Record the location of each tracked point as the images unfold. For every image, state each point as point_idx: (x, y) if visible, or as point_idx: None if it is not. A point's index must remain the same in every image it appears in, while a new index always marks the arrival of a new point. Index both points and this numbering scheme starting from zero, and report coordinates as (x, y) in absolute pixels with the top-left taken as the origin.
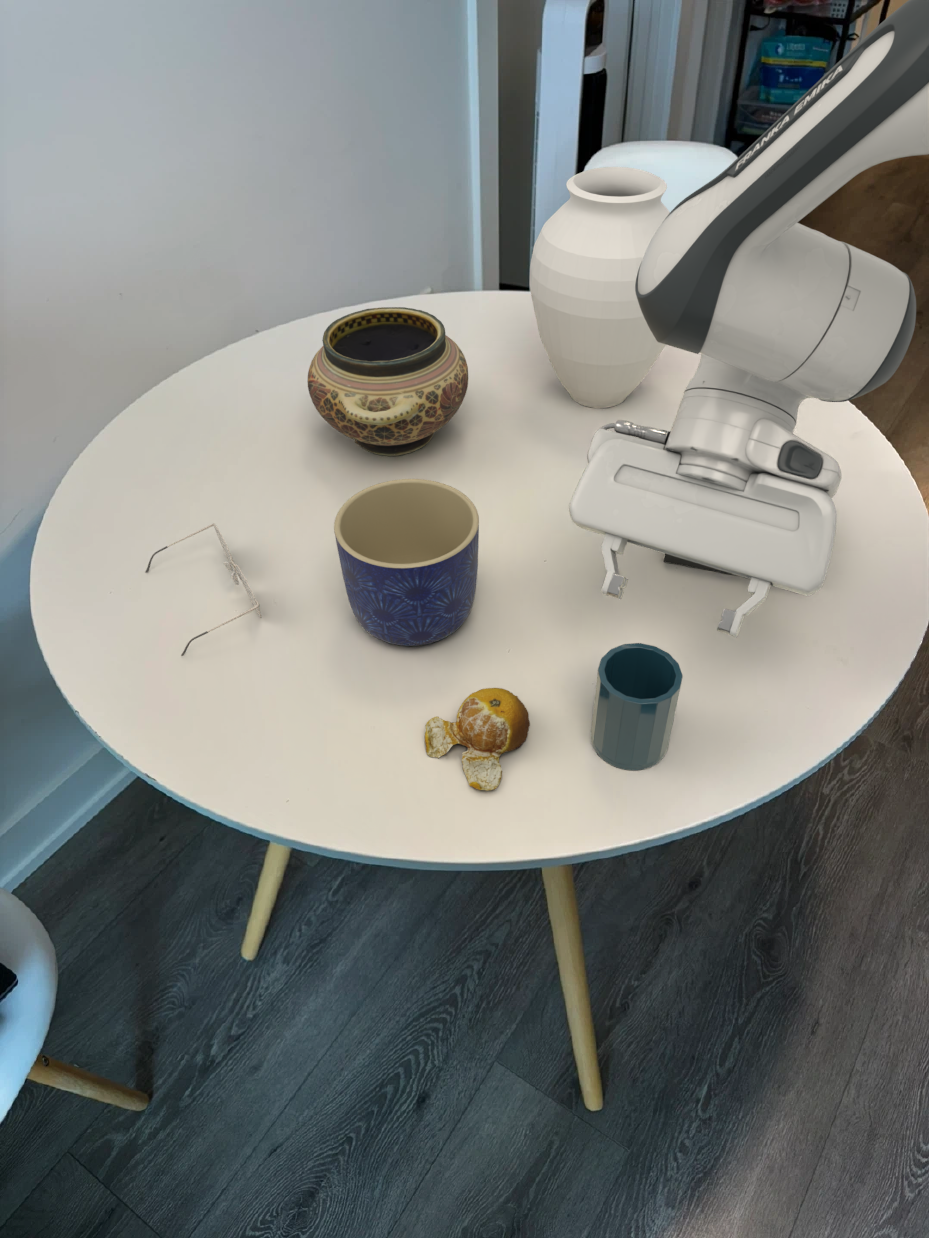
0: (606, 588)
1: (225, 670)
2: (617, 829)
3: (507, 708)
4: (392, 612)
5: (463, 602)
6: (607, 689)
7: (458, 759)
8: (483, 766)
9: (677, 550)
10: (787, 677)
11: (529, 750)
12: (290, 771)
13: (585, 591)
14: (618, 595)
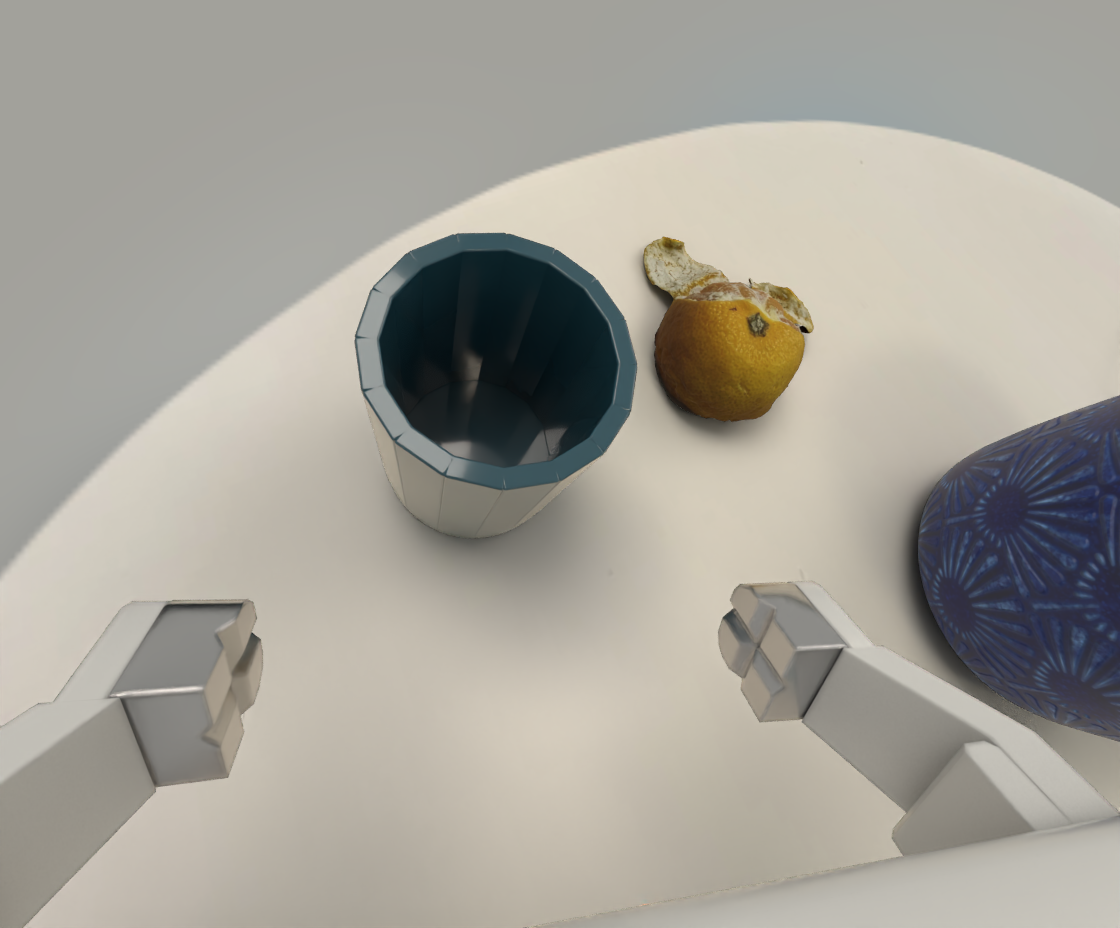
0: (805, 588)
1: (1081, 325)
2: None
3: (730, 320)
4: (1078, 409)
5: (994, 545)
6: (567, 257)
7: None
8: (684, 280)
9: (693, 913)
10: (94, 913)
11: (636, 353)
12: (892, 202)
13: None
14: (744, 588)
